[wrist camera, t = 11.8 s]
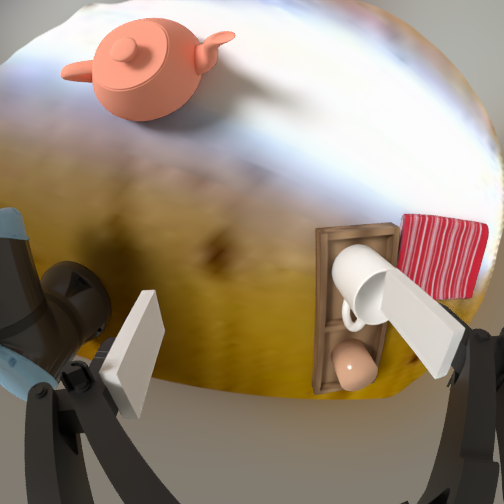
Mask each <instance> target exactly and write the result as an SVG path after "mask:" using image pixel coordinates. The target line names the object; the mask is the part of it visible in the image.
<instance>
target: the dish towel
mask: <svg viewBox="0 0 504 504" xmlns="http://www.w3.org/2000/svg"><path fill="white" fill-rule="evenodd" d="M488 234H489V230H488V226H487V224H484V223H479V222H473V221H468V220H460V219H455V218H447V217H441V216H436V215H435V216H434V215H420V214H404V215H403V216H402V218H401V226H400V231H399V244H398V255H397V265H396V268H397V269H399V270H400V271H401V272H402V273H403V274H405V275H406V276H407V277H408V278H409V279H411V280H412V281H413V282H414V283H415V284H417V285H418V286H419V287H420V288H421V289H422V290H424V291H425V292H426V293H427V294H428V295H429V296H430V297H432V298H433V299H434V300H444V299H446V300H447V299H460V298H461V299H462V298H471V297H472V295H473V290H474V287H475V284H476V280H477V276H478V273H479V270H480V266H481V262H482V258H483V255H484V251H485V248H486V244H487V240H488Z"/></svg>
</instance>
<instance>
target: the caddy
mask: <svg viewBox="0 0 504 504" xmlns="http://www.w3.org/2000/svg"><path fill="white" fill-rule="evenodd" d="M399 231H400V227H398V226H396V225H394V224H393V223H391V222H390V223H377V224H364V225H351V226H339V227H327V228H316V229H315V232H316V305H315V338H314V359H313V376H312V387H313V390H314V394H315V395H318V394H324V393H329V392H334V391H339V390H344V389H343V388H342V387H341V384H340V382H339V379H338V377H337V374H336V372H335V369H334V367H333V364H332V362H331V359H330V355H331V352H332V350H333V349H334V347H335V346H336V345H337V344H339V343H340V342H342V341H344V340H347V339H352V338H355V339H359V340H361V341H362V342H363V344H364V345H365V347H366V349H367V350H368V352H369V354H370V356H371V357H372V359H373V361H374V363H375V364H376V366H377V368H378V367H379V362H380V358H381V354H382V349H383V345H384V340H385V335H386V330H387V325H388V321H386V322H384V323H381V324H378V325H368V324H365V326H364V327H363V328H362V329H361V330H359V331H356V332H352V331H350V330H348V329H347V328H346V326H345V325H344V322H343V318H342V305H343V301H344V297H343V296H342V294H341V293H340V291H339V290H338V288H337V287H336V285H335V283H334V281H333V278H332V266H333V263H334V261H335V259H336V257H337V256H338V254H339V253H340V252H341V251H343V250H344V249H345V248H347V247H349V246H352V245H357V244H361V245H366V246H368V247H370V248H372V249H373V250H374V251H376V252H377V253H378V254H379V255H381V256H382V257H383V258H384V259H385V260H386V261H388V262H389V263H390V264H391V265H392V266H394V267H395V268H396V265H397V255H398V244H399ZM350 316H351V319H352V321H353V322H355V321H356V320H357V317H356V316H355V314H354V313H353V311H352V310H351V308H350ZM374 382H375V379H374V380H373V381H372V382H371V383H374Z"/></svg>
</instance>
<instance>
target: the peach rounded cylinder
mask: <svg viewBox="0 0 504 504" xmlns="http://www.w3.org/2000/svg"><path fill="white" fill-rule="evenodd" d="M330 359H331V362H332V364H333V367H334V369H335V372H336V374H337V377H338V379H339V382H340V384H341V387H342V388H343V389H344V390H347V391H356V390H360V389H362V388H364V387H366V386H368V385H369V384H370V383H371V382H372V381H373V380H374V379H375V378H376V376H377V373H378V368H377V366H376V364H375V363H374V361H373V359H372V357H371V356H370V354H369V352H368V350H367V349H366V347H365V345H364V344H363V342H362V341H361V340H359V339H355V338H352V339H347V340H344V341H342V342H340V343H339V344H337V345H336V346H335V347H334V349H333V350H332V352H331V355H330Z"/></svg>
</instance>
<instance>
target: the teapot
mask: <svg viewBox="0 0 504 504" xmlns="http://www.w3.org/2000/svg"><path fill="white" fill-rule="evenodd" d="M234 37H235V33H233V32H230V31H224V32H218V33H215V34H213V35H211V36H209V37H208V38H206V39H205V41H204V43H203V44H200V43H199V41H198V40H197V38H196V37H195V35H194V34H193V33H192V32H191V31H190V30H189V29H187V28H186V27H184V26H183V25H181V24H179V23H177V22H174V21H171V20H167V19H162V18H146V19H139V20H135V21H131V22H128V23H126V24H123V25H121V26H119V27H117V28H116V29H114V30H113V31H111V32H110V33H109V34H108V35H107V36H106V37H105V38H104V39H103V40H102V41H101V43H100V44H99V46H98V48H97V50H96V53H95V56H94V59H93V60H89V61H82V62H76V63H72V64H69V65H67V66H65V67H64V68H63V69H62V70H61V77H62V78H63V79H65V80H69V81H77V82H90V83H93V88H94V92H95V94H96V96H97V98H98V100H99V102H100V103H101V104H102V105H103V106H104V107H105V108H106V109H107V110H108V111H109V112H111V113H112V114H114V115H116V116H118V117H120V118H123V119H126V120H131V121H149V120H154V119H158V118H161V117H164V116H166V115H168V114H170V113H172V112H174V111H176V110H177V109H179V108H180V107H181V106H183V105H184V104H185V103H186V102H187V101H188V100H189V99H190V98H191V97H192V95H193V94H194V92H195V91H196V89H197V87H198V85H199V83H200V80H201V77H202V74H203V73H205V72H207V71H209V70H210V69H212V68H213V66H214V65H215V64H216V62H217V58H218V47H219V46H220V45H222V44H224V43H227V42H229V41H231V40H232V39H233V38H234Z"/></svg>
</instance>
